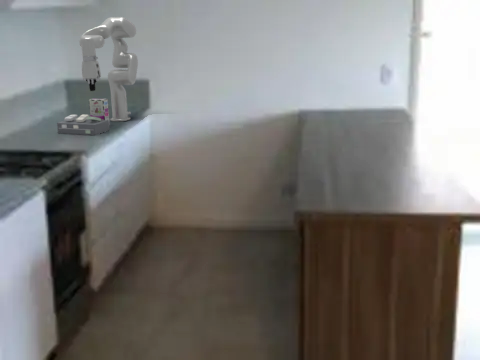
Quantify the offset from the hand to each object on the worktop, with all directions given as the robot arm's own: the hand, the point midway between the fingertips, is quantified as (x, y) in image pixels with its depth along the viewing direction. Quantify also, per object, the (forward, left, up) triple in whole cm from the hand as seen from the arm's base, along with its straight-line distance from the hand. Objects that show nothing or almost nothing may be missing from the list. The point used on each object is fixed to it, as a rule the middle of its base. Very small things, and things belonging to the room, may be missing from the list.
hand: (92, 90), depth 406 cm
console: (+6, -4, -23) cm, 25 cm away
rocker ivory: (+6, -4, -15) cm, 17 cm away
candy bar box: (-13, -5, -24) cm, 27 cm away
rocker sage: (+6, +4, -15) cm, 17 cm away
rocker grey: (+6, -12, -15) cm, 21 cm away
